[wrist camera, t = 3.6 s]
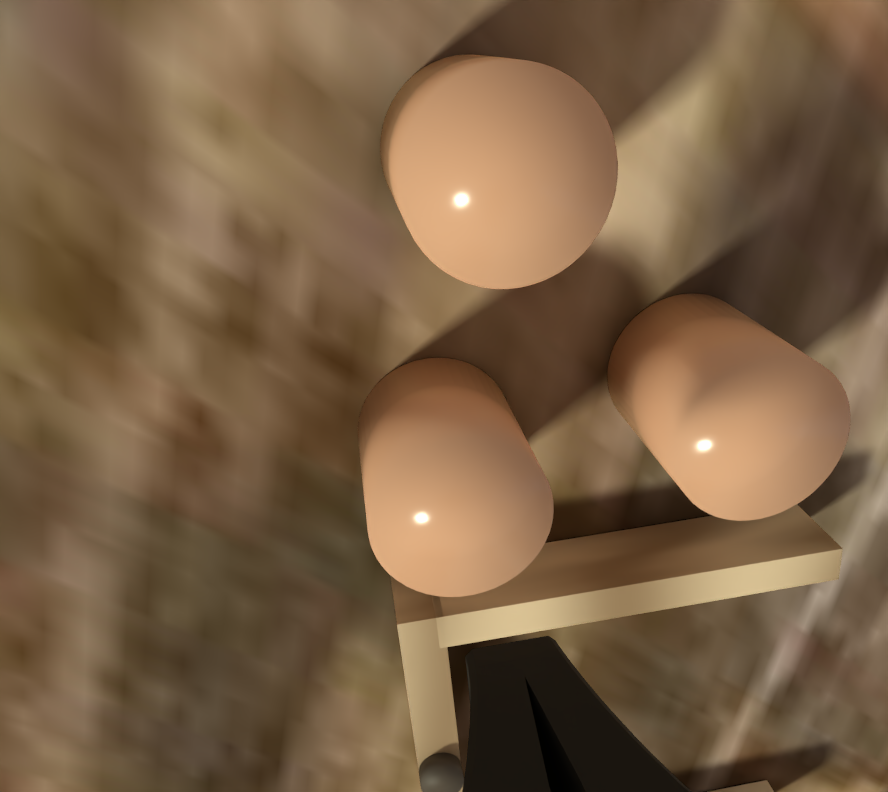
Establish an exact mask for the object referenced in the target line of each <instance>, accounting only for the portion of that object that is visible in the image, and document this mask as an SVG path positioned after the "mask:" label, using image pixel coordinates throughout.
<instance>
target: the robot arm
mask: <svg viewBox="0 0 888 792" xmlns="http://www.w3.org/2000/svg"><path fill="white" fill-rule="evenodd" d="M465 658H466V668H467V677H468V686H469V696H470V729H469V741H468V752H467V763H466V771H465V777H464V784H463V790H462V792H692V791H690V790H689V789H688V788H687V787H686V786H685V785H684V784H683V783H682V782H681V781H680V780H678V779H677V778H676V777H675V776H674V775H673V774H672V773H671V772H670V771H669V770H668V769H667V768H666V767H665V766H664V765H663V764H662V763H661V762H660V761H659V760H658V759H657V758H656V757H655V756H654V755H653V754H652V753H651V752H650V751H649V750H648V749H647V748H646V747H645V746H644V745H643V744H642V743H641V742H640V741H639V740H638V739H637V738H636V737H635V736H634V735H633V734H632V733H631V732H630V730H629V729H628V728H627V727H626V726H625V725H624V724H623V723H622V722H621V721H620V720H619V719H618V718H617V716H616V715H615V714H614V713H613V712H612V711H611V710H610V709H609V708H608V707H607V705H606V704H605V703H604V702H603V701H602V700H601V699H600V697H599V696H598V695H597V694H596V693H595V691H594V690H593V689H592V688H591V687H590V685H589V684H588V683H587V682H586V681H585V679H584V678H583V677H582V676H581V674H580V673H579V672H578V671H577V669H576V668H575V667H574V665H573V664H572V663H571V662H570V660H569V659H568V658H567V656H566V655H565V654H564V652H563V651H562V649H561V648H560V647H559V645H558V644H557V642H556V641H555V640H554V639H552V638H551V637H549V636H545V637H539V638H533V639H528V640H522V641H516V642H510V643H505V644H499V645H493V646H487V647H482V648H476V649H472V650H471V651H470V652H469V653H468V654H467V655H466V656H465Z"/></svg>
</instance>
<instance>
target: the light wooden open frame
mask: <svg viewBox="0 0 888 792" xmlns="http://www.w3.org/2000/svg"><path fill="white" fill-rule="evenodd" d="M842 550H843V549H842V548H841V547H840V546H839V545H838V544H837V543H836V542H835V541H834V540H833V539H832V538H831V537H830V536H829V535H828V534H827V533H826V532H825V531H824V530H823V529H822V528H821V527H820V526H819V525H818V524H817V523H816V522H815V521H814V520H813V519H812V518H811V517H810V516H809V515H808V514H807V513H805V512H804V511H803V510H802V509H801V508H800V507H799V506H798V505H797V504H796V505H795V506H793V507H791V508H789V509H787V510H785V511H783V512H781V513H778V514H775V515H773V516H769V517H765V518H762V519H756V520H747V521H736V520H727V519H723V518H718V517H716V516H707V517H701V518H695V519H689V520H683V521H676V522H670V523H664V524H658V525H652V526H646V527H640V528H634V529H628V530H621V531H615V532H609V533H603V534H597V535H591V536H585V537H579V538H573V539H567V540H560V541H554V542H548V543H545V544H544V546H543V547H542V549H541V551H540V552H539V554H538V555H537V556H536V557H535V559H534V560H533V561H532V562H531V563H530V564H529V565H528V566H527V567H526V568H525V569H524V570H523V571H522V572H521V573H519V574H518V575H517V576H516V577H514V578H512V579H511V580H509V581H508V582H506V583H504V584H502V585H500V586H498V587H496V588H494V589H491V590H488V591H486V592H482V593H479V594H475V595H469V596H462V597H441V596H434V595H429V594H425V593H422V592H418V591H416V590H413V589H411V588H409V587H407V586H405V585H403V584H402V583H400V582H399V581H397V580H396V579H395V578H393V577H392V576H391V575H390V577H391V584H392V591H393V598H394V606H395V613H396V620H397V627H398V634H399V641H400V648H401V654H402V661H403V668H404V675H405V681H406V688H407V695H408V702H409V708H410V715H411V722H412V729H413V735H414V742H415V749H416V756H417V762H418V769H419V776H420V783H421V789H422V792H462V790H463V784H464V776H463V771H462V766H461V759H460V751H459V742H458V734H457V725H456V717H455V708H454V700H453V691H452V683H451V674H450V666H449V657H448V648H447V647H451V646H457V645H463V644H468V643H474V642H480V641H486V640H491V639H497V638H503V637H509V636H514V635H520V634H526V633H532V632H537V631H543V630H549V629H555V628H560V627H566V626H572V625H578V624H583V623H589V622H595V621H601V620H606V619H612V618H618V617H624V616H629V615H635V614H641V613H647V612H652V611H658V610H664V609H670V608H676V607H681V606H687V605H693V604H699V603H704V602H710V601H716V600H722V599H727V598H733V597H739V596H745V595H750V594H756V593H762V592H768V591H773V590H779V589H785V588H791V587H796V586H802V585H808V584H814V583H819V582H825V581H831V580H837V579H839V572H840V565H841V557H842ZM709 792H774V791H773V789H772V788H771V786H770V785H769V783H768V781H767V780H765V781H760V782H755V783H749V784H744V785H739V786H734V787H729V788H724V789H719V790H714V791H709Z"/></svg>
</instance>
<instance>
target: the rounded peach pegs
mask: <svg viewBox="0 0 888 792" xmlns="http://www.w3.org/2000/svg"><path fill="white" fill-rule="evenodd" d="M380 156H381V165H382V169H383V173H384V177H385V179H386V182H387V185H388V187H389V189H390V191H391V194H392V196H393V198H394V200H395V202H396V204H397V206H398V208H399V210H400V212H401V215H402V217H403V219H404V221H405V223H406V225H407V227H408V229H409V231H410V233H411V235H412V237H413V239H414V240H415V242H416V243H417V245H418V246H419V247H420V249H421V250H422V252H423V253H424V254H425V255H426V256H427V257H428V258H429V259H430V260H431V261H432V262H433V263H434V264H435V265H437V266H438V267H439V268H440V269H441V270H443V271H444V272H446V273H448V274H449V275H451V276H453V277H454V278H456V279H459V280H461V281H463V282H465V283H468V284H472V285H475V286H479V287H484V288H491V289H512V288H521V287H525V286H529V285H533V284H536V283H539V282H541V281H544V280H546V279H548V278H550V277H552V276H554V275H556V274H558V273H560V272H561V271H563V270H564V269H565V268H567V267H568V266H570V265H571V264H572V263H573V262H574V261H576V260H577V259H578V258H579V257H580V256H581V255H582V254H583V253H584V252H585V251H586V250H587V249H588V247H589V246H590V245H591V244H592V243H593V241H594V240H595V238H596V237H597V235H598V234H599V232H600V231H601V229H602V227H603V225H604V223H605V221H606V219H607V217H608V214H609V212H610V209H611V207H612V203H613V199H614V196H615V191H616V184H617V175H618V161H617V152H616V145H615V141H614V137H613V133H612V131H611V128H610V125H609V123H608V120H607V118H606V116H605V115H604V113H603V111H602V109H601V107H600V106H599V105H598V103H597V102H596V101H595V99H594V98H593V97H592V95H591V94H590V93H589V92H588V91H587V90H586V89H585V88H584V87H583V86H582V85H581V84H580V83H578V82H577V81H576V80H574V79H573V78H572V77H570V76H569V75H567V74H565V73H563V72H561V71H560V70H558V69H556V68H553V67H550V66H548V65H545V64H542V63H537V62H532V61H528V60H519V59H511V58H503V57H494V56H486V55H475V54H464V55H455V56H450V57H446V58H443V59H440V60H438V61H435V62H433V63H431V64H429V65H427V66H426V67H424V68H422V69H421V70H420V71H418V72H417V73H416V74H414V75H413V76H412V77H411V78H410V79H409V80H408V81H407V82H406V83H405V84H404V85H403V86H402V88H401V89H400V90H399V91H398V93H397V94H396V96H395V98H394V99H393V101H392V103H391V104H390V107H389V109H388V111H387V114H386V116H385V120H384V123H383V127H382V132H381V139H380ZM607 382H608V389H609V393H610V396H611V399H612V401H613V403H614V405H615V407H616V408H617V410H618V411H619V413H620V414H621V415H622V417H623V418H624V419H625V420H626V422H627V423H628V424H629V425H630V427H631V428H632V429H633V430H634V431H635V433H636V434H637V435H638V436H639V438H640V439H641V440H642V441H643V443H644V444H645V445H646V446H647V448H648V449H649V450H650V451H651V453H652V454H653V455H654V456H655V458H656V459H657V460H658V461H659V463H660V464H661V465H662V466H663V468H664V469H665V470H666V471H667V473H668V474H669V475H670V476H671V478H672V479H673V480H674V481H675V483H676V484H677V485H678V486H679V487H680V489H681V490H682V491H683V492H684V494H685V495H686V496H687V497H688V498H689V499H690V501H691V502H692V503H693V504H695V505H696V506H697V507H698V508H700V509H701V510H703V511H705V512H706V513H708V514H710V515H713V516H716V517H718V518H723V519H727V520H736V521H747V520H756V519H762V518H765V517H769V516H773V515H775V514H778V513H781V512H783V511H785V510H787V509H789V508H791V507H793V506H795V505H796V504H798V503H799V502H801V501H803V500H804V499H805V498H807V497H808V496H809V495H810V494H812V493H813V492H814V491H815V490H816V489H817V488H818V487H819V486H820V485H821V484H822V483H823V482H824V481H825V480H826V479H827V477H828V476H829V475H830V474H831V472H832V471H833V469H834V468H835V467H836V465H837V463H838V461H839V459H840V458H841V456H842V453H843V451H844V449H845V446H846V443H847V439H848V436H849V430H850V406H849V401H848V398H847V395H846V392H845V390H844V388H843V386H842V384H841V383H840V382H839V380H838V379H837V378H836V376H835V375H834V374H833V373H832V372H831V371H830V370H828V369H827V368H825V367H824V366H823V365H821V364H820V363H818V362H817V361H815V360H814V359H812V358H810V357H809V356H807V355H806V354H804V353H803V352H801V351H800V350H798V349H797V348H795V347H794V346H792V345H791V344H789V343H787V342H786V341H784V340H783V339H781V338H780V337H778V336H777V335H775V334H774V333H772V332H771V331H769V330H768V329H766V328H764V327H763V326H761V325H760V324H758V323H757V322H755V321H754V320H752V319H751V318H749V317H748V316H746V315H745V314H743V313H741V312H740V311H738V310H737V309H735V308H734V307H732V306H731V305H729V304H728V303H726V302H725V301H722V300H720V299H718V298H716V297H713V296H709V295H704V294H693V293H689V294H680V295H675V296H671V297H668V298H665V299H663V300H660V301H658V302H656V303H654V304H652V305H650V306H649V307H647V308H646V309H644V310H643V311H642V312H640V313H639V314H638V315H637V316H636V317H635V318H633V319H632V321H631V322H630V323H629V324H628V325H627V326H626V327H625V329H624V330H623V331H622V333H621V334H620V336H619V338H618V339H617V341H616V343H615V345H614V347H613V350H612V352H611V356H610V359H609V364H608V370H607ZM358 442H359V451H360V461H361V470H362V480H363V489H364V499H365V509H366V518H367V528H368V535H369V540H370V544H371V547H372V550H373V552H374V554H375V556H376V558H377V559H378V561H379V562H380V564H381V565H382V567H383V568H384V569H385V570H386V571H387V572H388V573H389V574H390V575H391V576H392V577H393V578H395V579H396V580H397V581H399V582H400V583H402V584H403V585H405V586H407V587H409V588H411V589H413V590H416V591H418V592H422V593H425V594H429V595H434V596H441V597H462V596H469V595H475V594H479V593H482V592H486V591H488V590H491V589H494V588H496V587H498V586H500V585H502V584H504V583H506V582H508V581H509V580H511V579H512V578H514V577H516V576H517V575H518V574H519V573H521V572H522V571H523V570H524V569H525V568H526V567H527V566H528V565H529V564H530V563H531V562H532V561H533V560H534V559H535V557H536V556H537V555H538V554H539V552H540V551H541V549H542V547H543V546H544V544H545V542H546V540H547V537H548V535H549V533H550V529H551V525H552V521H553V513H554V504H553V496H552V491H551V488H550V485H549V482H548V480H547V478H546V476H545V474H544V472H543V470H542V468H541V467H540V465H539V463H538V461H537V459H536V457H535V455H534V453H533V451H532V449H531V447H530V445H529V443H528V442H527V440H526V438H525V436H524V434H523V432H522V430H521V428H520V426H519V424H518V422H517V420H516V419H515V417H514V415H513V413H512V411H511V409H510V407H509V405H508V403H507V401H506V399H505V397H504V395H503V394H502V392H501V390H500V388H499V387H498V386H497V384H496V383H495V382H494V381H493V380H492V379H491V378H490V377H489V376H488V375H487V374H486V373H485V372H483V371H482V370H480V369H479V368H477V367H475V366H473V365H471V364H469V363H466V362H464V361H460V360H456V359H451V358H426V359H421V360H417V361H413V362H410V363H408V364H405V365H403V366H401V367H399V368H397V369H395V370H393V371H392V372H391V373H389V374H388V375H386V376H385V377H384V378H383V379H382V380H381V381H379V382H378V384H377V385H376V386H375V387H374V388H373V389H372V391H371V392H370V394H369V395H368V397H367V398H366V400H365V402H364V405H363V407H362V410H361V413H360V416H359V422H358Z"/></svg>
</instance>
